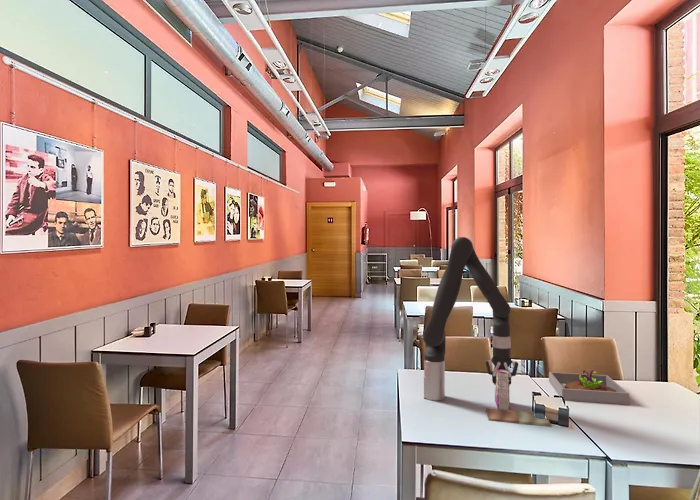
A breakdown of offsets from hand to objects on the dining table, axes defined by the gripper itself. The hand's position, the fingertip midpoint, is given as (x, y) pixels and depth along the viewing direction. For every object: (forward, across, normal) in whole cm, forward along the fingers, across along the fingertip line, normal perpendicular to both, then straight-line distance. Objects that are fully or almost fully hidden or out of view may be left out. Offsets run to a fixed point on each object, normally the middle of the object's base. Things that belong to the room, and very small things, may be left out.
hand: (501, 384), depth 185 cm
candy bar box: (+10, 0, 0) cm, 10 cm away
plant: (+10, +44, +29) cm, 53 cm away
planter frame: (+9, +41, +27) cm, 50 cm away
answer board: (+9, +4, -12) cm, 16 cm away
